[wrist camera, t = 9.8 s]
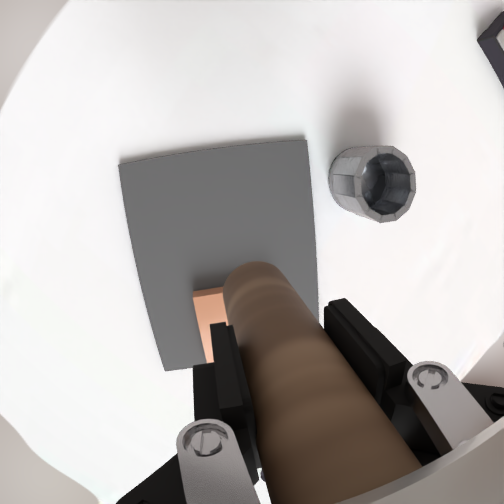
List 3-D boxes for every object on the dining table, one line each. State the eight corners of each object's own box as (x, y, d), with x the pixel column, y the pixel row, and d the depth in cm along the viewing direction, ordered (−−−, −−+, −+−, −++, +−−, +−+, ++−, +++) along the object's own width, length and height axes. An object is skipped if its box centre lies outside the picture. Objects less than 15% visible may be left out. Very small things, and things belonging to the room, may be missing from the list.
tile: (192, 297, 26) (209, 373, 28) (274, 283, 27) (281, 359, 29) (192, 290, 28) (208, 363, 30) (270, 277, 28) (277, 350, 31)
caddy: (325, 148, 27) (351, 146, 22) (382, 147, 28) (413, 146, 23) (331, 216, 29) (356, 226, 24) (385, 209, 29) (416, 217, 25)
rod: (218, 267, 15) (313, 626, 1) (284, 256, 15) (508, 525, 2) (227, 326, 16) (306, 626, 2) (289, 314, 16) (441, 572, 3)
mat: (119, 164, 24) (118, 164, 24) (304, 140, 26) (306, 139, 26) (165, 368, 30) (165, 371, 29) (317, 340, 32) (319, 342, 31)
